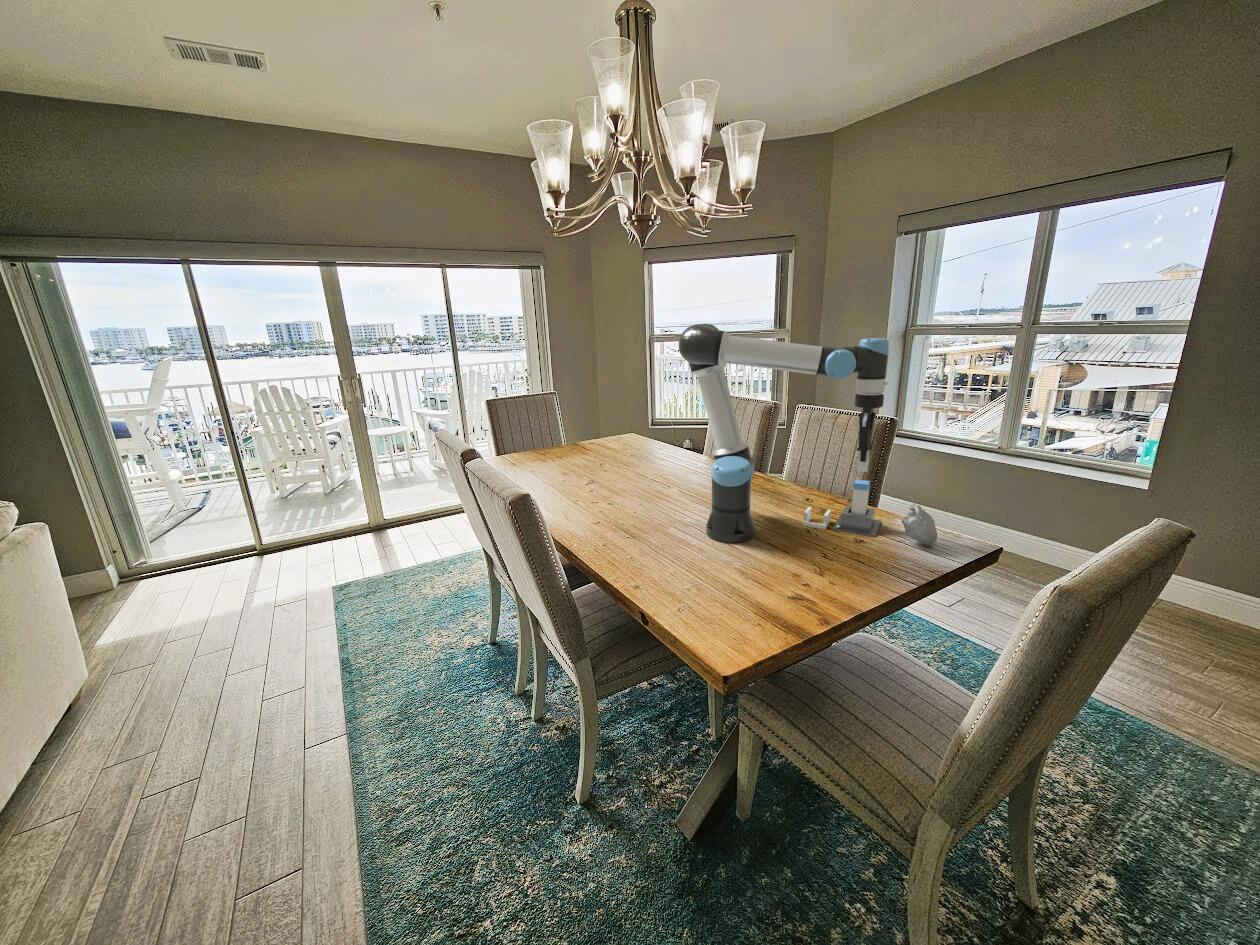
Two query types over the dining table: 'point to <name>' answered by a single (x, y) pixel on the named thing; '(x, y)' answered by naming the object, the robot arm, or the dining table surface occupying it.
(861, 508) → the plug
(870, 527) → the port panel
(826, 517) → the holster
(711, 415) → the robot arm
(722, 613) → the dining table surface
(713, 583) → the dining table surface
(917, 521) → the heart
